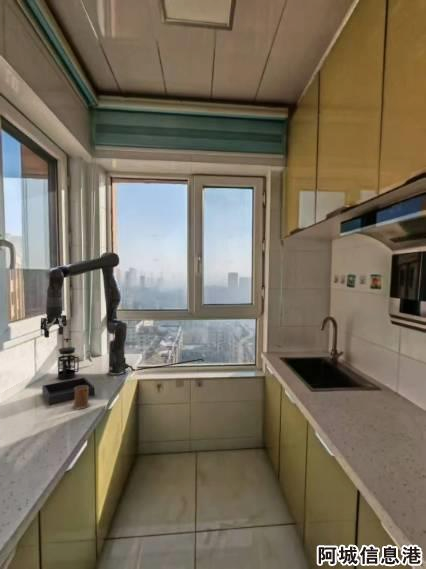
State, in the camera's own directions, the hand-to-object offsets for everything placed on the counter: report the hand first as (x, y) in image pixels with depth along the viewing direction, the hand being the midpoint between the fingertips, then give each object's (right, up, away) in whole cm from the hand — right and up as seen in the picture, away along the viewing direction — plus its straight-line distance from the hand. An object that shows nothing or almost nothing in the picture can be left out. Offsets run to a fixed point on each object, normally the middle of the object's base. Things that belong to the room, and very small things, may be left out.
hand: (53, 335), depth 150 cm
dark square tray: (+12, -29, -8) cm, 32 cm away
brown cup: (+24, -29, -20) cm, 42 cm away
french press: (-2, -28, +18) cm, 33 cm away
